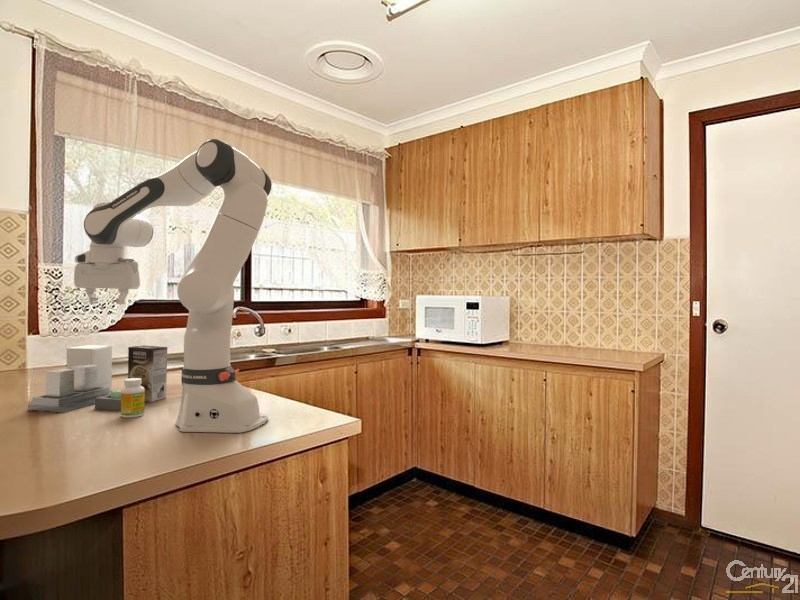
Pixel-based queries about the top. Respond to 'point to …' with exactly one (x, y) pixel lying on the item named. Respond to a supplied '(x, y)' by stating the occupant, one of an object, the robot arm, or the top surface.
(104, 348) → the supplement box
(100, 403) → the grey square frame
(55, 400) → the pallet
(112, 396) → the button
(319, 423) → the top surface
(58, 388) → the billet
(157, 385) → the coffee box
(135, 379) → the supplement bottle
